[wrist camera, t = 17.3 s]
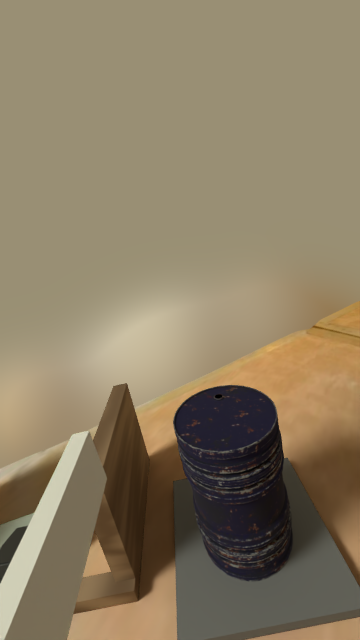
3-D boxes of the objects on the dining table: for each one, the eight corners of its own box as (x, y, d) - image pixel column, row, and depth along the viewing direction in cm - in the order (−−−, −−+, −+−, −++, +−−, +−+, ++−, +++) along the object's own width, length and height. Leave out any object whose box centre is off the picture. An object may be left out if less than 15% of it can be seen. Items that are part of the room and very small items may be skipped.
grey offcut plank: (77, 509, 37) (73, 498, 36) (71, 548, 32) (67, 537, 31) (-10, 540, 35) (-16, 530, 34) (-31, 587, 30) (-38, 576, 30)
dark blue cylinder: (312, 574, 25) (298, 440, 21) (206, 592, 25) (171, 463, 21) (274, 481, 35) (259, 377, 30) (197, 495, 35) (172, 394, 31)
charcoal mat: (288, 463, 38) (287, 457, 38) (370, 614, 23) (370, 606, 22) (174, 486, 38) (173, 481, 38) (180, 652, 23) (177, 644, 22)
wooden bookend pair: (149, 459, 44) (126, 383, 40) (137, 600, 27) (96, 490, 23) (-20, 494, 44) (-59, 422, 40) (-140, 656, 27) (-227, 556, 23)
